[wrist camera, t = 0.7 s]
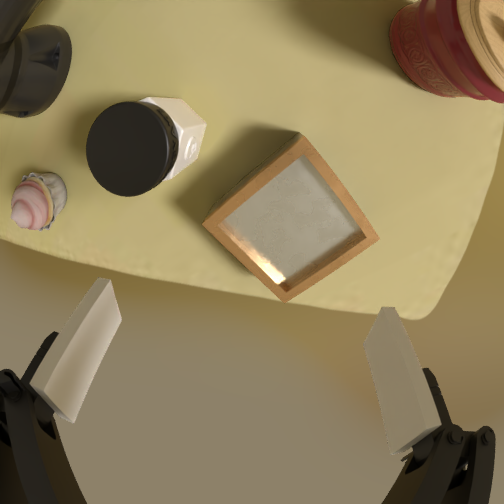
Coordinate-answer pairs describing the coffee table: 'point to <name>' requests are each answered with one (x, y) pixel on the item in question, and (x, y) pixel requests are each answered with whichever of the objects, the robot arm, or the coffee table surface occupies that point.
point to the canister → (452, 47)
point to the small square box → (291, 220)
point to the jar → (143, 144)
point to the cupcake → (38, 200)
